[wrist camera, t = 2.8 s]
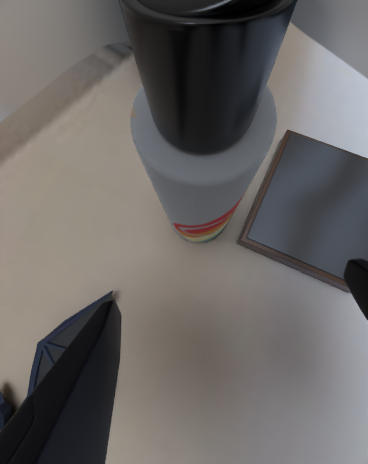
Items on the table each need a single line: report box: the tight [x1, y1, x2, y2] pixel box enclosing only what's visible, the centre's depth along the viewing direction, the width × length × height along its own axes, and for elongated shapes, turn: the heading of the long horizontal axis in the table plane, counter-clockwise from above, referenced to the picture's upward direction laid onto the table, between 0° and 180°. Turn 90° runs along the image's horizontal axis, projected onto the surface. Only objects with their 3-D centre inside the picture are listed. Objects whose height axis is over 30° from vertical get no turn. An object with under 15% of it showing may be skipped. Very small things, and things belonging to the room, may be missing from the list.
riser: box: [237, 130, 368, 292], centre depth 22 cm, size 11×12×2 cm
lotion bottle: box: [119, 0, 298, 243], centre depth 14 cm, size 6×6×20 cm
